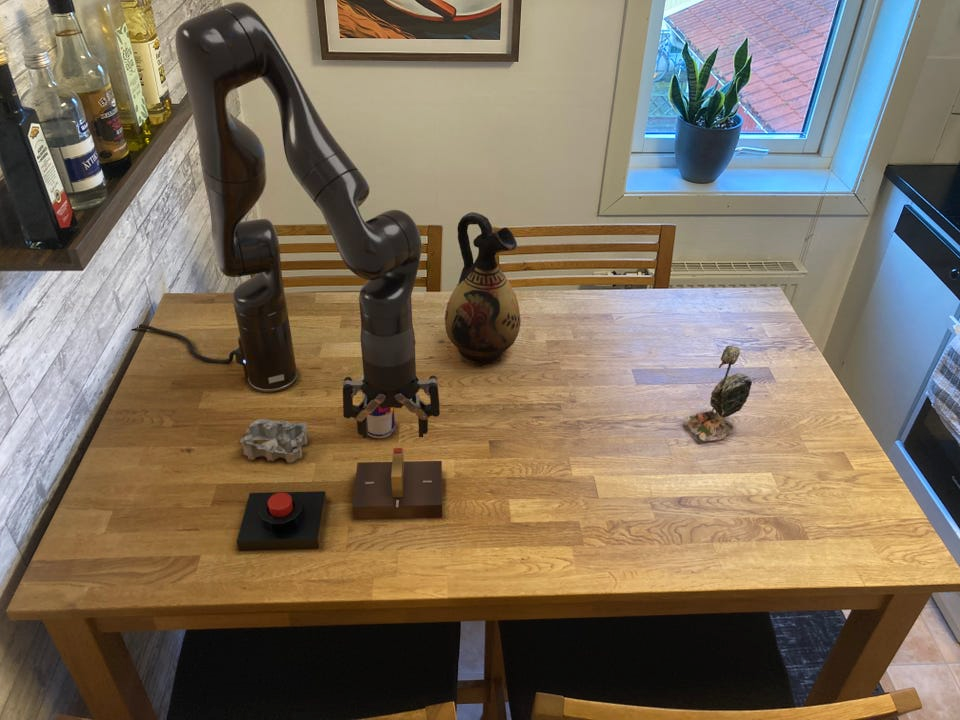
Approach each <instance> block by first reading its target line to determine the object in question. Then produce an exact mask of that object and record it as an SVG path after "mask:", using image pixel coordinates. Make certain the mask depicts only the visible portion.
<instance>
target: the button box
mask: <svg viewBox="0 0 960 720" xmlns="http://www.w3.org/2000/svg"><path fill="white" fill-rule="evenodd" d="M277 493H287V494H289V495H290V496H291V498H292V502H293V510H292V512H291V513H290V514H289V515H287V516H284V517H274V516H272V515H271V514H270V512H269V507H268V500H269V498H270V497H271V496H273V495H274V494H277ZM327 503H328V502H327V493H326V491H325V490H322V491H321V490H320V491H319V490H315V491H314V490H313V491H312V490H311V491H277V492H276V491H275V492H273V491H272V492H269V491H268V492H249V494H248V498H247V502H246V506H245V509H244V513H243V516H242V520H241V523H240V528H239V531H238V535H237V539H236V545H237V548H238V552H242V551H243V552H246V551H247V552H249V551H280V550H283V551H284V550H285V551H287V550H319V549H320V545H321V539H322V534H323V533H322V532H323V527H324V526H323V525H324V522H325V521H324V520H325V514H326V507H327Z"/></svg>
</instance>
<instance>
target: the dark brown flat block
mask: <svg viewBox="0 0 960 720" xmlns="http://www.w3.org/2000/svg"><path fill="white" fill-rule="evenodd" d="M442 462H443V461H442V460H411V461H410V460H409V461H405V460H404V482H403V497H392V482H391V472H392V461H361V462H360V461H359V462H356V463H357V464H356V470H355V471H356V472H355V481H354V489H353V497H352V507H351V508H352V516H353V520H354V521H355V520H356V521H358V520H359V521H360V520H361V521H363V520H396V519H397V520H398V519H399V520H400V519H404V520H405V519H442V518H443V463H442Z"/></svg>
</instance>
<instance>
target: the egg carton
mask: <svg viewBox="0 0 960 720" xmlns="http://www.w3.org/2000/svg"><path fill="white" fill-rule="evenodd" d="M307 427H308V422H306V421H305V422H297V423H294V422H292V421H291V422H289V421H288V420H283V421H282V420H271V419H269V418H268V419H267V418H258V419H256V420H254V421H252V422H250V425H249V426H248V428H247V430H246V431H245V433H244V437H241V439H240V440H238V444H241V447H242V453H243V455H244V456H246V457H247V458H248V460H250V461H253V460H255V459H257V458H258V457H265V458H266V461H267V462H269V461H270V462H271V461H272V462H274V461H276V460H277V459H280V458H282V459H285V460H286V461H285V462H286V463H291V464H292V463H293V462H295V461H296V460H298V459H299V460H300V459H301V458H302V456H303V451H302V447H303V446H306V445H307V443H308V436H307ZM254 441H265V442H262V443H255V442H254ZM293 448H294V449H293Z"/></svg>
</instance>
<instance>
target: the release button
mask: <svg viewBox="0 0 960 720" xmlns="http://www.w3.org/2000/svg"><path fill="white" fill-rule="evenodd" d="M268 507H269V512H270V514H271V515H272V516H274V517H284V516H287V515H289V514H290V513H291V512H292V510H293V502H292V498H291V496H290V495H289V494H287V493H277V494H274V495H273V496H271V497H270V498H269V500H268Z"/></svg>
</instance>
